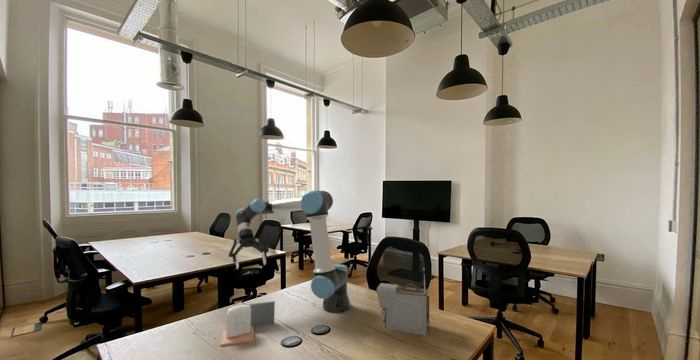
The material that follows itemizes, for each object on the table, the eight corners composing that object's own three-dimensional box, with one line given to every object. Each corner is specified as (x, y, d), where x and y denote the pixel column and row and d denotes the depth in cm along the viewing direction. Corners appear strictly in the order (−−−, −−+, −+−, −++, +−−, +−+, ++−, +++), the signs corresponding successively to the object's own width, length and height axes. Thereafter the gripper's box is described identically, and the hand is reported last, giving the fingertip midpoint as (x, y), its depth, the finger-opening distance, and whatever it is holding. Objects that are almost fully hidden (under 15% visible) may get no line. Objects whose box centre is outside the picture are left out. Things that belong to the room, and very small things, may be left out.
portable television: (381, 318, 145) (381, 258, 146) (430, 325, 137) (429, 262, 138) (375, 328, 133) (375, 263, 135) (428, 337, 125) (427, 268, 127)
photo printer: (249, 329, 131) (249, 301, 131) (251, 333, 127) (252, 304, 128) (225, 335, 125) (225, 306, 126) (227, 339, 122) (227, 309, 122)
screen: (274, 322, 140) (274, 301, 140) (274, 323, 138) (274, 302, 139) (243, 326, 135) (243, 304, 136) (243, 327, 134) (243, 305, 134)
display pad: (253, 327, 134) (253, 325, 134) (253, 341, 122) (253, 339, 122) (223, 331, 130) (223, 329, 130) (220, 346, 118) (220, 344, 118)
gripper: (266, 234, 169) (274, 266, 155) (220, 238, 156) (224, 273, 142) (269, 226, 164) (277, 258, 151) (222, 230, 151) (226, 264, 138)
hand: (251, 265), depth 147 cm, fingers open, 13 cm apart
